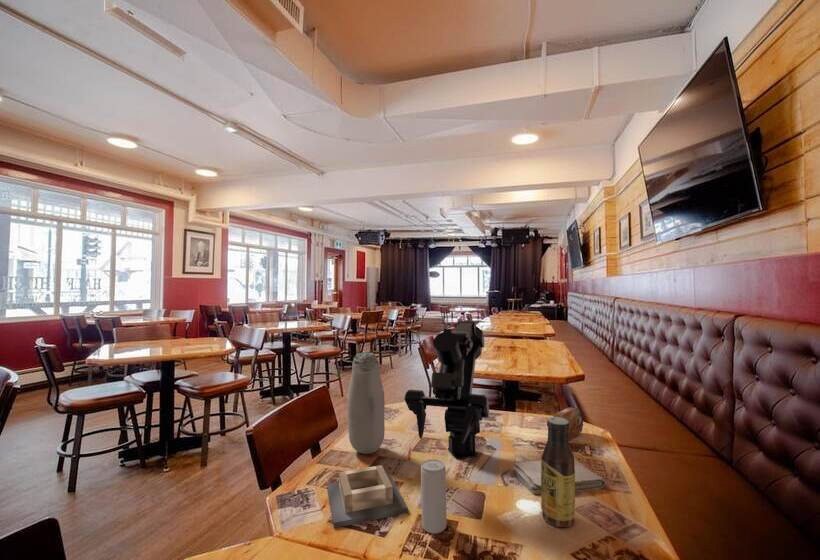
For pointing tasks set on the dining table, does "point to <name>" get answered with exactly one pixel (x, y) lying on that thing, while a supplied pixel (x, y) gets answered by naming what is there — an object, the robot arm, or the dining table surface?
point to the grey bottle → (366, 404)
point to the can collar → (364, 496)
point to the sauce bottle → (558, 475)
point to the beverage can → (433, 496)
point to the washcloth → (532, 476)
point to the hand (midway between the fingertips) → (440, 440)
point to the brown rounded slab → (572, 421)
